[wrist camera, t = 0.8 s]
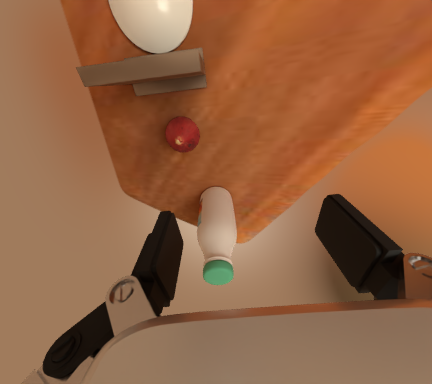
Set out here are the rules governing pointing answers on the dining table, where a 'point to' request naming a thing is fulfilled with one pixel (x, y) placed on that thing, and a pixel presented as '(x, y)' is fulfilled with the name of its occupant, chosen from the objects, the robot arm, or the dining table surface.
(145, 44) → the coaster
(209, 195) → the milk bottle
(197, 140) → the onion
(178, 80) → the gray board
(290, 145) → the dining table surface
